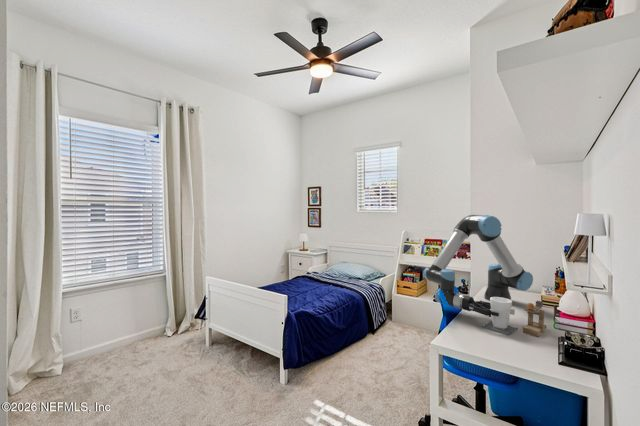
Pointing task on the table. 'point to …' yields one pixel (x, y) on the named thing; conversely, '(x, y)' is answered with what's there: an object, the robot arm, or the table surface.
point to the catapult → (535, 327)
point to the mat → (506, 331)
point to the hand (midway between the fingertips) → (510, 314)
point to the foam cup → (500, 310)
